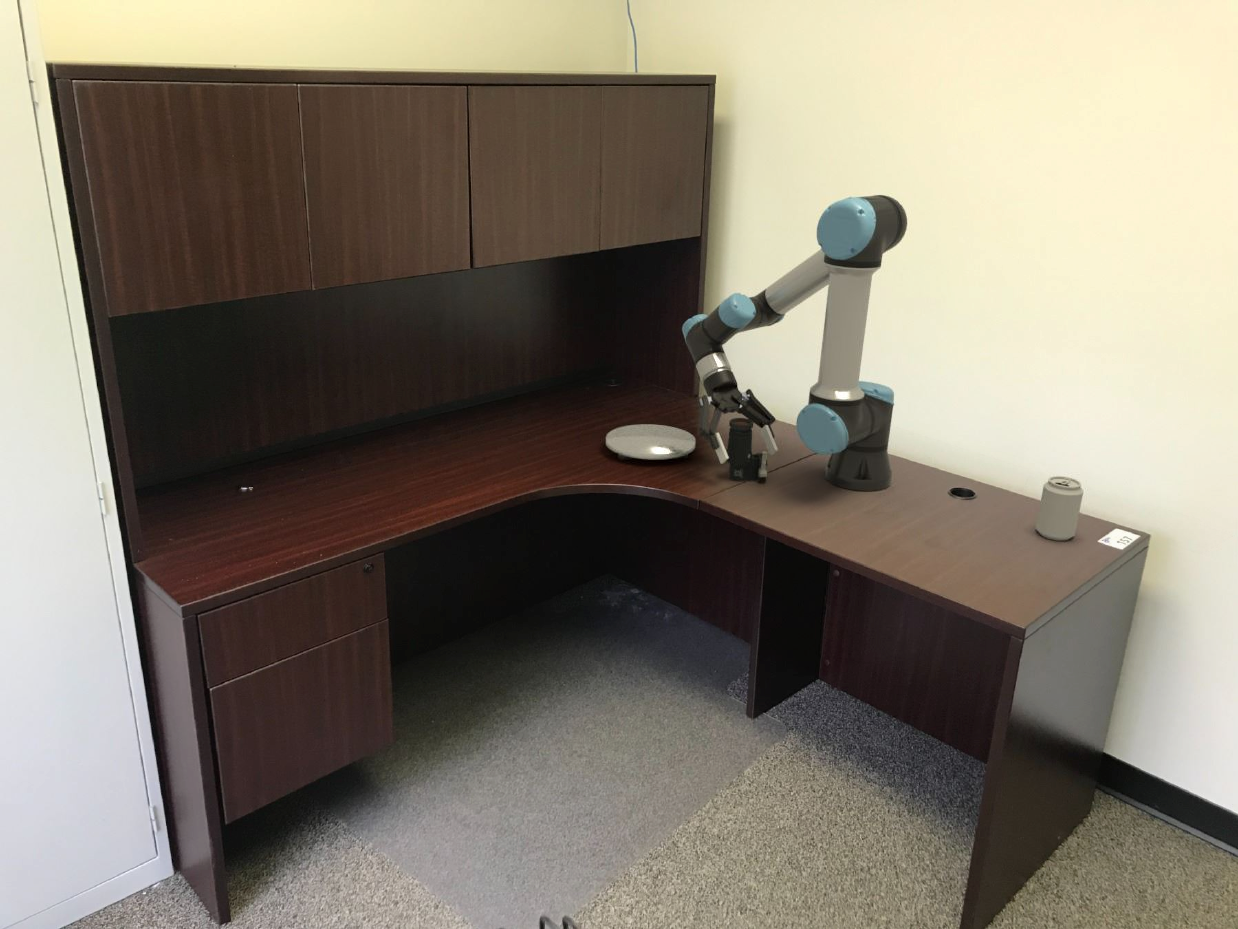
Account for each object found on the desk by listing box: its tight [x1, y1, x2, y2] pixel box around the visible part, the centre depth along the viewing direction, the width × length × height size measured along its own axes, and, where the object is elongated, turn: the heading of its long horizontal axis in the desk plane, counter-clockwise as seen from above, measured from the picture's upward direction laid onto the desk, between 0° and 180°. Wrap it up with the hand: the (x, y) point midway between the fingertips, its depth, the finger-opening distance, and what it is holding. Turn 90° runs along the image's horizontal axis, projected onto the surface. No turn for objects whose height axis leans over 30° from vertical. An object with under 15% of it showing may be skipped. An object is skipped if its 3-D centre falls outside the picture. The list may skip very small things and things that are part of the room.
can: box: [1035, 475, 1084, 541], centre depth 207 cm, size 8×8×12 cm
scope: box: [724, 417, 768, 484], centre depth 232 cm, size 8×14×10 cm
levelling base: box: [605, 423, 696, 461], centre depth 249 cm, size 22×22×4 cm
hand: (749, 456), depth 230 cm, fingers open, 13 cm apart
